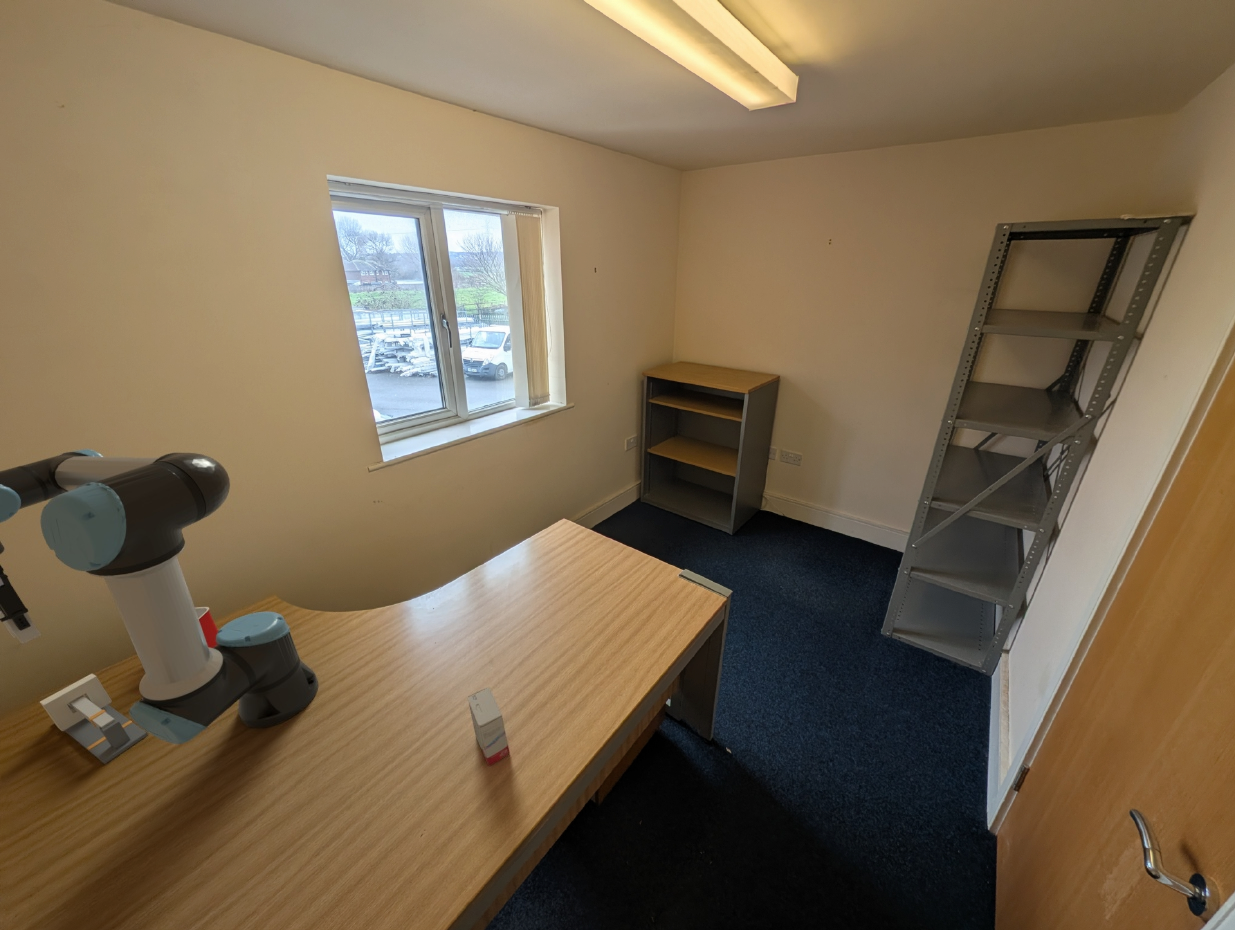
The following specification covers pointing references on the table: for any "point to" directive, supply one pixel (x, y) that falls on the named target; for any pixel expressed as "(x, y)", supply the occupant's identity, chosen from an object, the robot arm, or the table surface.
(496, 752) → the ink box
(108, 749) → the grey slide rail
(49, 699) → the thick cream end plate
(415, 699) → the table surface
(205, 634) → the mug
